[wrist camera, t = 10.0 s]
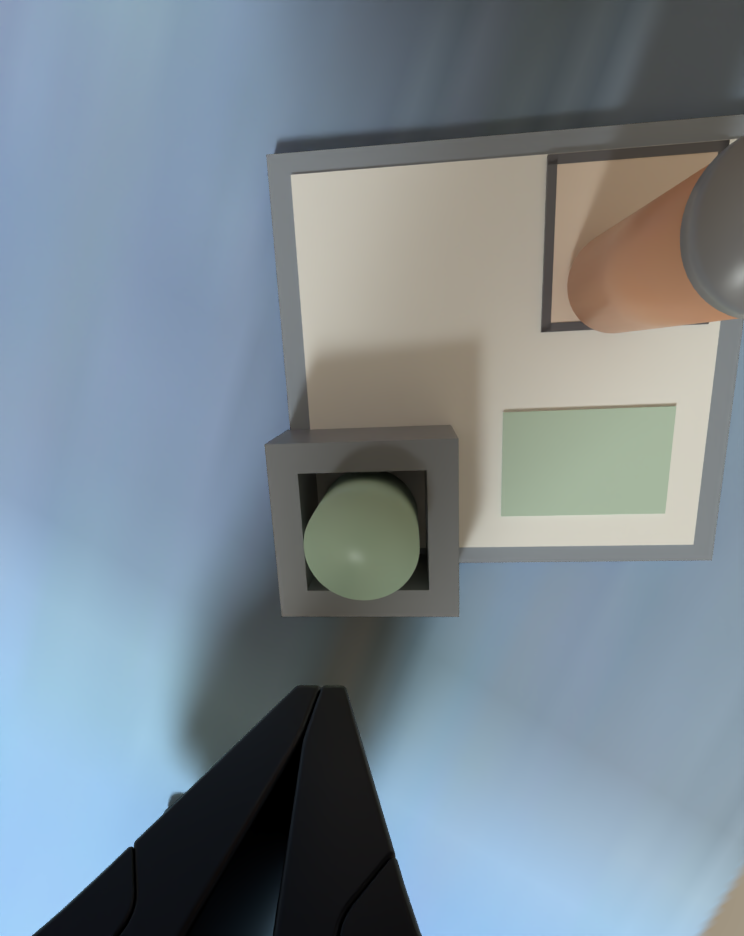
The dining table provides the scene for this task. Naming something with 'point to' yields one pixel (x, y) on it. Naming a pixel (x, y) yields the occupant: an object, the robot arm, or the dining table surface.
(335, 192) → the square board tray
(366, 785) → the robot arm
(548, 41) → the dining table surface
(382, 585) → the button
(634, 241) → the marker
